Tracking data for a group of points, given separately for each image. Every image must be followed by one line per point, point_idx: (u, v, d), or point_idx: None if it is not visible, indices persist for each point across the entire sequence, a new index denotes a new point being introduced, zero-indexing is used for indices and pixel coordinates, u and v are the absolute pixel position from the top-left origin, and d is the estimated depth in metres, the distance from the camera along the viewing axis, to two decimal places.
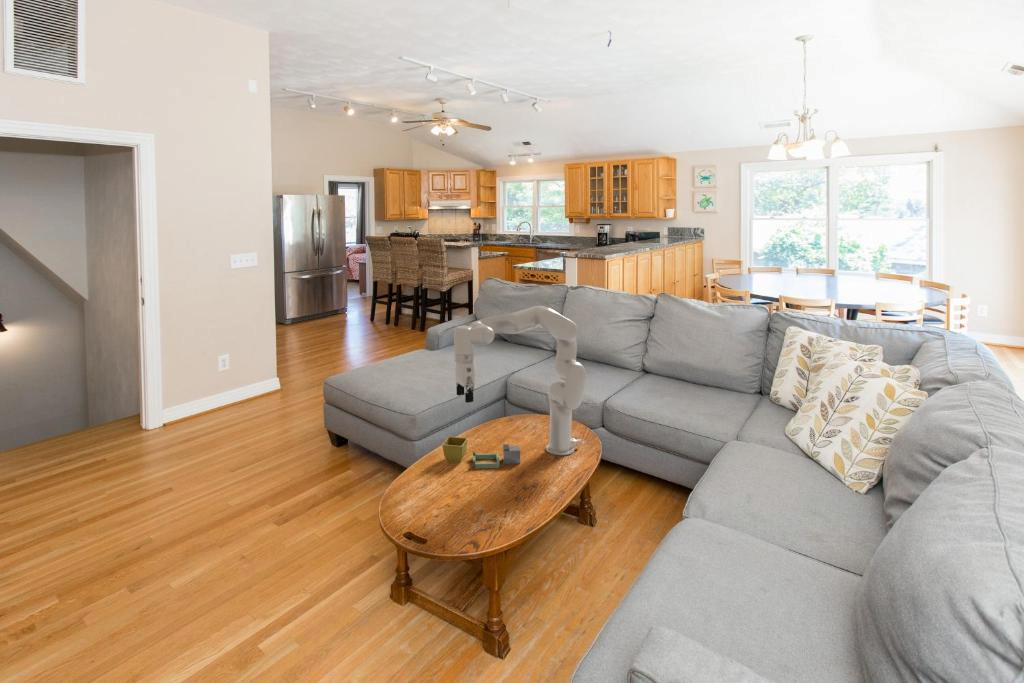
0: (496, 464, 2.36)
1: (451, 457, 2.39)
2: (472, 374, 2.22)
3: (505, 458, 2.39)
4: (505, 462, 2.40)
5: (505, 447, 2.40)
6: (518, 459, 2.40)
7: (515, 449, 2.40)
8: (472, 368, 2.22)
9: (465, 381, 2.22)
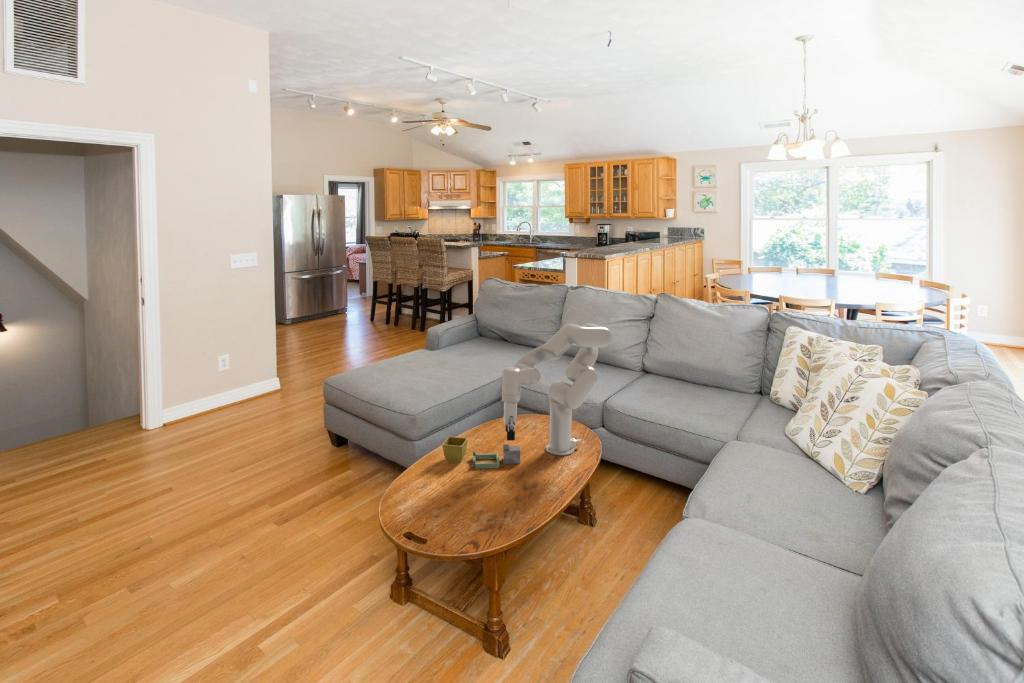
0: (496, 464, 2.36)
1: (451, 457, 2.39)
2: None
3: (505, 458, 2.39)
4: (505, 462, 2.40)
5: (505, 447, 2.40)
6: (518, 459, 2.40)
7: (515, 449, 2.40)
8: None
9: None
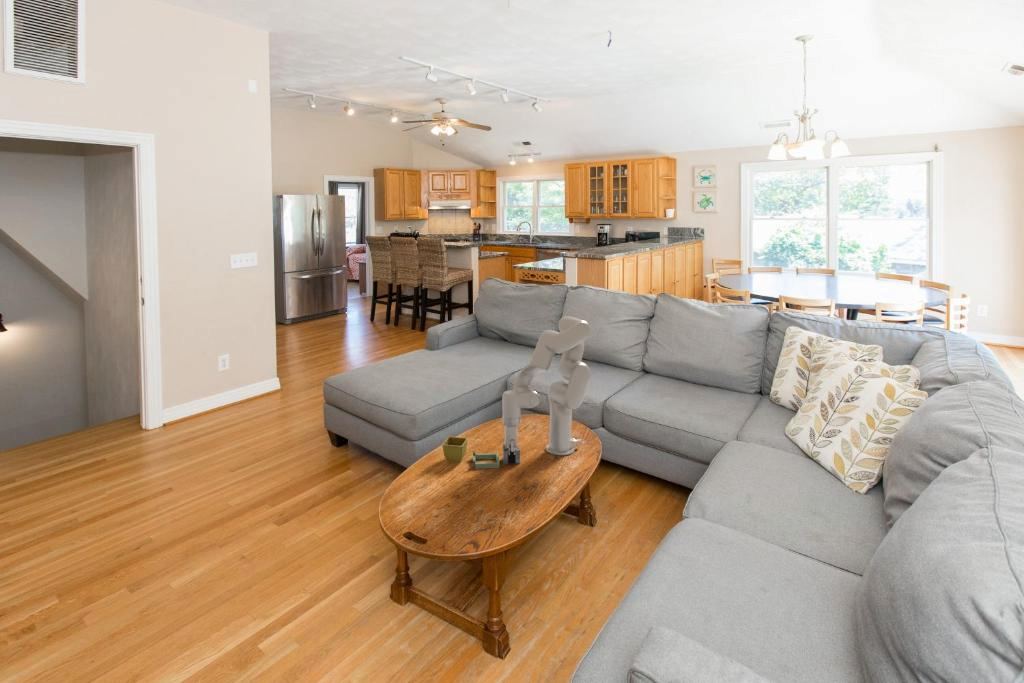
0: (496, 464, 2.36)
1: (451, 457, 2.39)
2: None
3: (505, 458, 2.39)
4: (504, 461, 2.40)
5: None
6: (518, 459, 2.40)
7: (515, 449, 2.40)
8: None
9: None
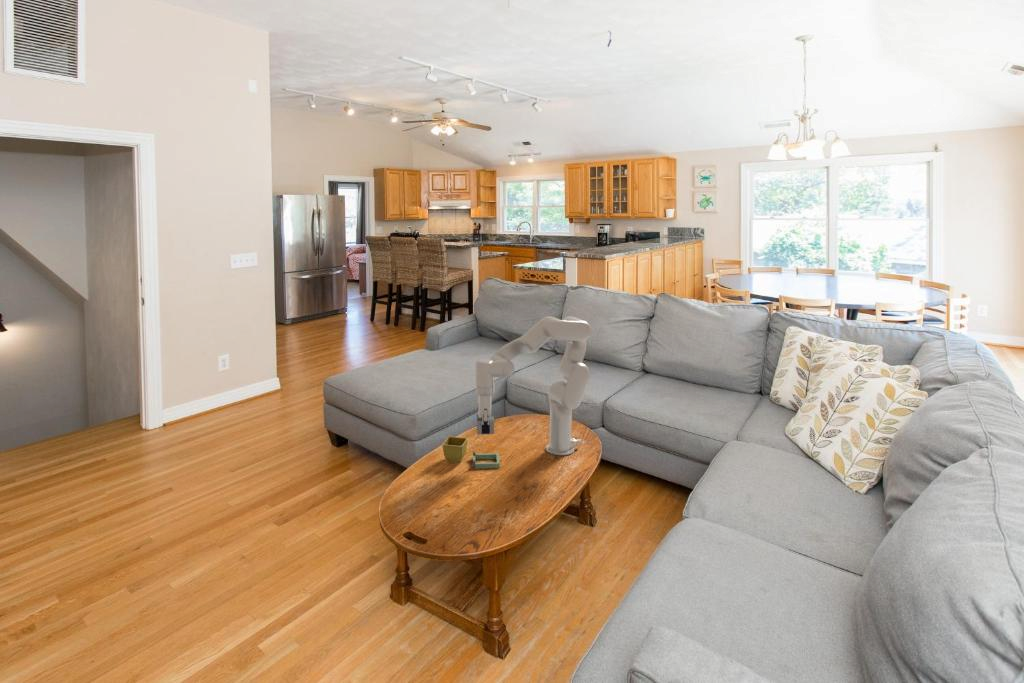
0: (496, 464, 2.36)
1: (451, 457, 2.39)
2: None
3: (478, 428, 2.35)
4: (478, 432, 2.35)
5: None
6: (492, 429, 2.35)
7: (489, 419, 2.35)
8: None
9: None
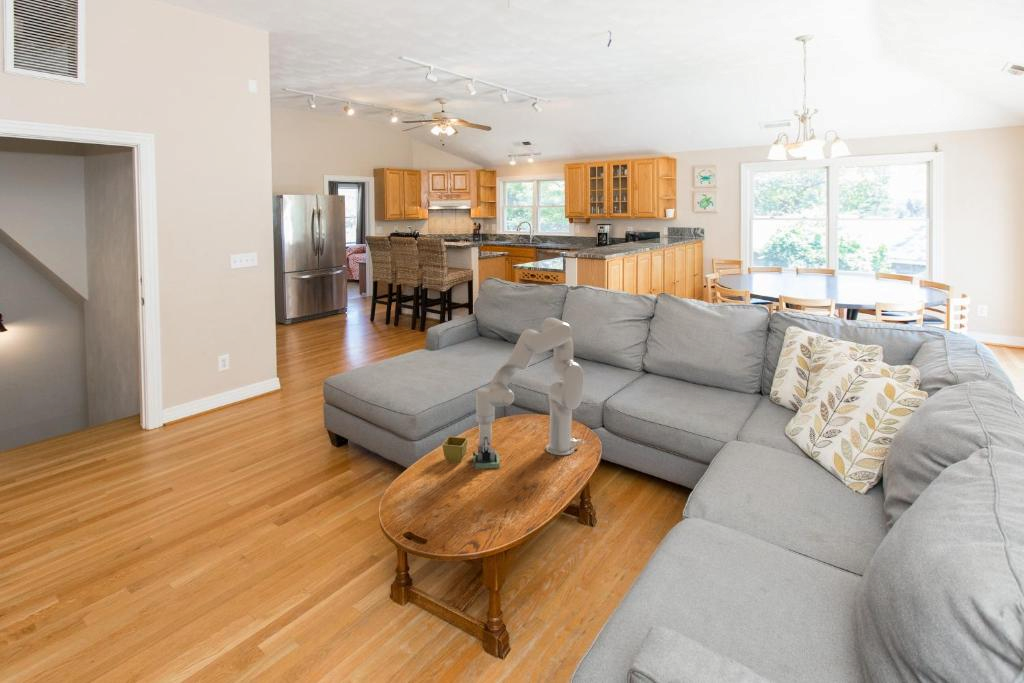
0: (496, 464, 2.36)
1: (451, 457, 2.39)
2: None
3: (479, 460, 2.38)
4: None
5: (479, 449, 2.39)
6: (492, 461, 2.38)
7: (489, 451, 2.39)
8: None
9: None
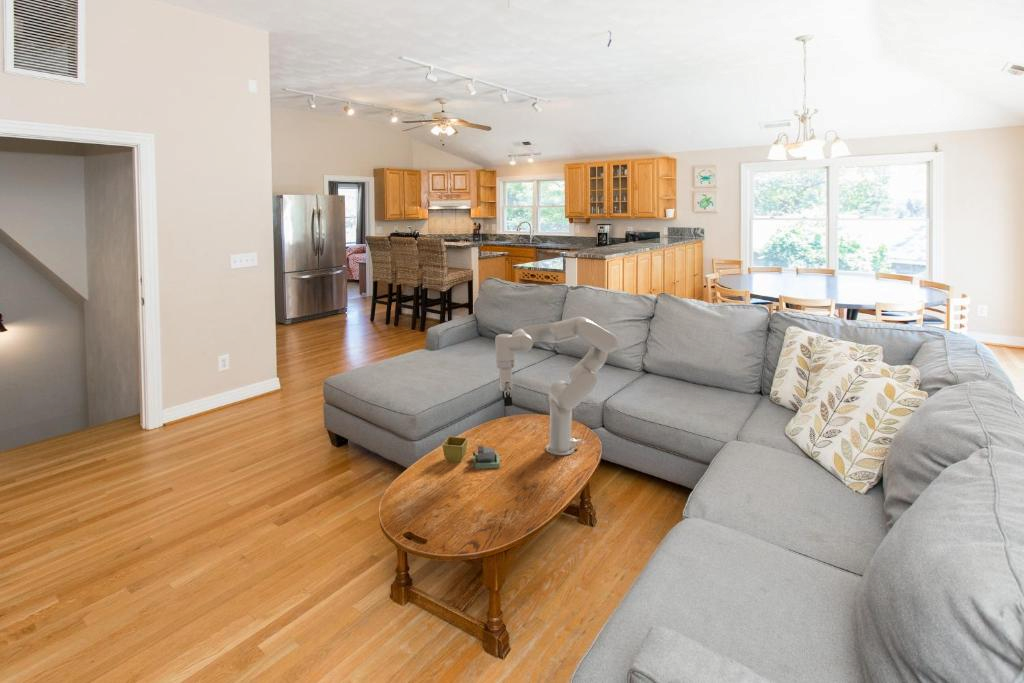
0: (496, 464, 2.36)
1: (451, 457, 2.39)
2: None
3: (479, 460, 2.38)
4: None
5: (479, 449, 2.39)
6: (492, 461, 2.38)
7: (489, 451, 2.39)
8: None
9: None
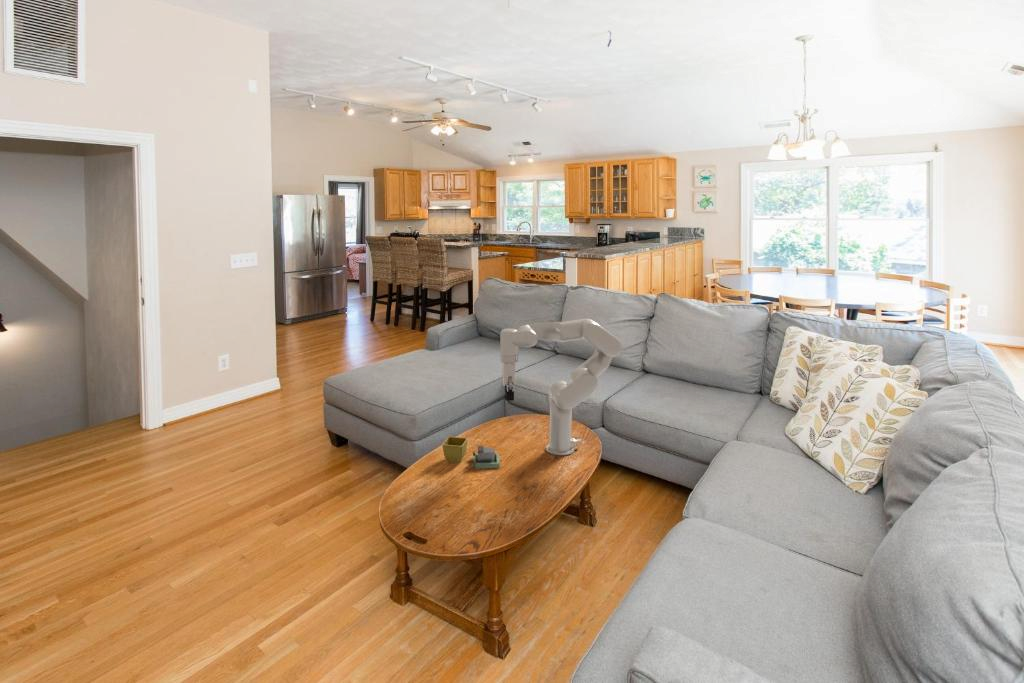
0: (496, 464, 2.36)
1: (451, 457, 2.39)
2: None
3: (479, 460, 2.38)
4: None
5: (479, 449, 2.39)
6: (492, 461, 2.38)
7: (489, 451, 2.39)
8: None
9: None
